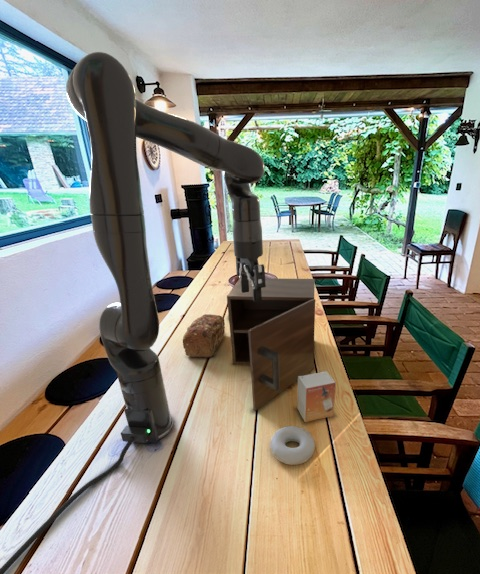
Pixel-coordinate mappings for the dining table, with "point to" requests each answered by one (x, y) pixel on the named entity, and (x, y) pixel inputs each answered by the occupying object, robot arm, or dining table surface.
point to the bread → (204, 336)
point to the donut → (292, 454)
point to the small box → (316, 396)
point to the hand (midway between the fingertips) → (251, 296)
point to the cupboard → (262, 309)
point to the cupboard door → (281, 352)
